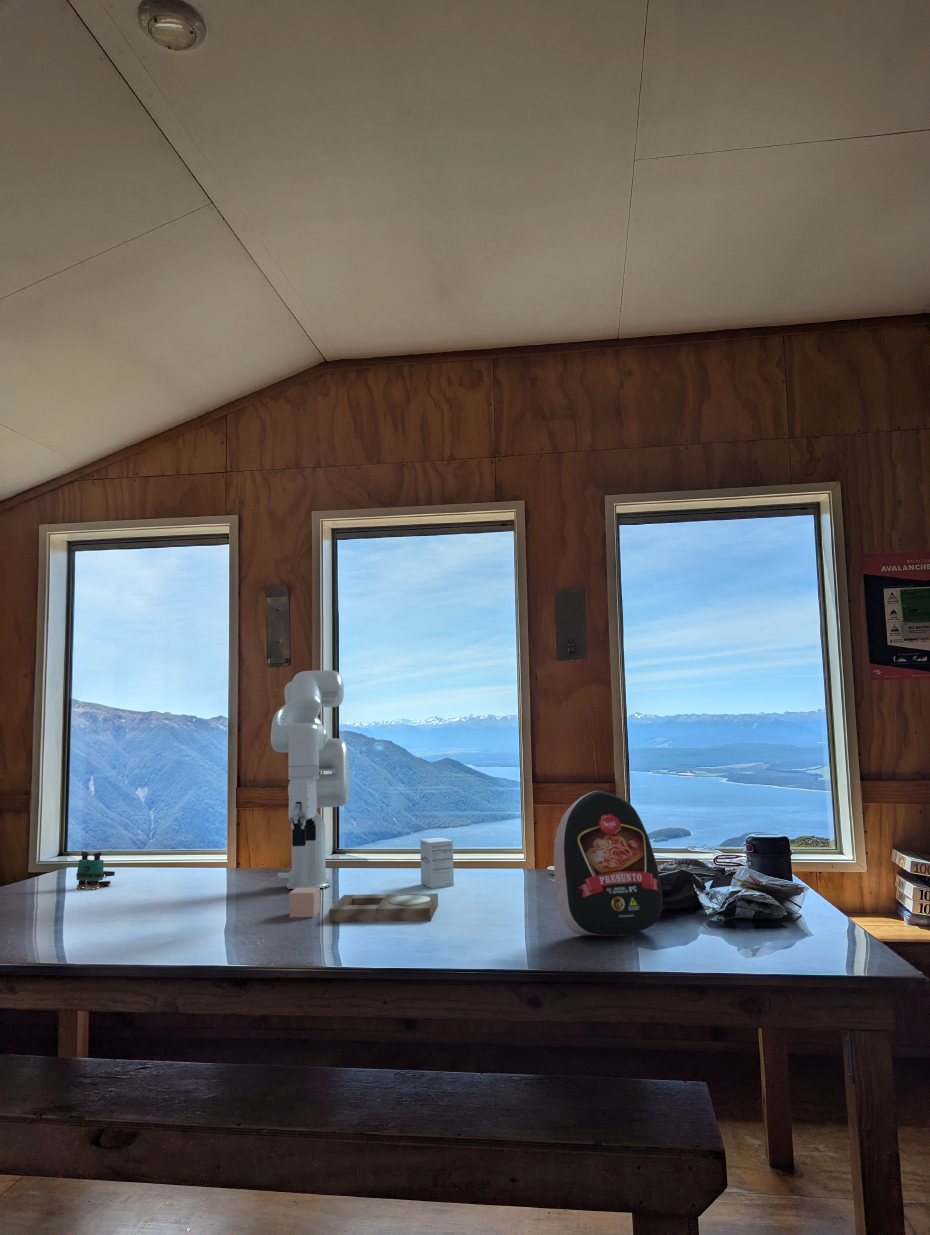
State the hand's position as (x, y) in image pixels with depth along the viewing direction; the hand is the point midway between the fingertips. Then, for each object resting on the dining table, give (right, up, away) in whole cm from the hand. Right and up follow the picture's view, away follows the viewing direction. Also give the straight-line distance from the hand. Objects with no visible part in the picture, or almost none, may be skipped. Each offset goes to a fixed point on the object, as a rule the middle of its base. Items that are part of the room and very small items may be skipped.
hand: (304, 843), depth 210 cm
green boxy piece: (-70, -25, +43) cm, 86 cm away
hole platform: (+20, -16, -3) cm, 26 cm away
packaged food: (+71, -12, -28) cm, 77 cm away
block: (0, -17, -2) cm, 17 cm away
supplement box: (+32, -20, +30) cm, 48 cm away
